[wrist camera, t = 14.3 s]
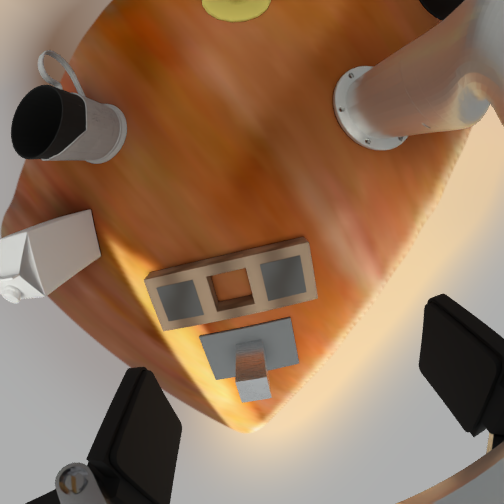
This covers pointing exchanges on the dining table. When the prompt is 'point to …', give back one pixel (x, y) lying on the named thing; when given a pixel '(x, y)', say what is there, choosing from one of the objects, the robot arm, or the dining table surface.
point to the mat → (224, 343)
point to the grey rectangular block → (252, 371)
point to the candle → (235, 9)
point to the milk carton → (46, 255)
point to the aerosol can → (441, 7)
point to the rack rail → (263, 299)
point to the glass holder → (66, 123)
